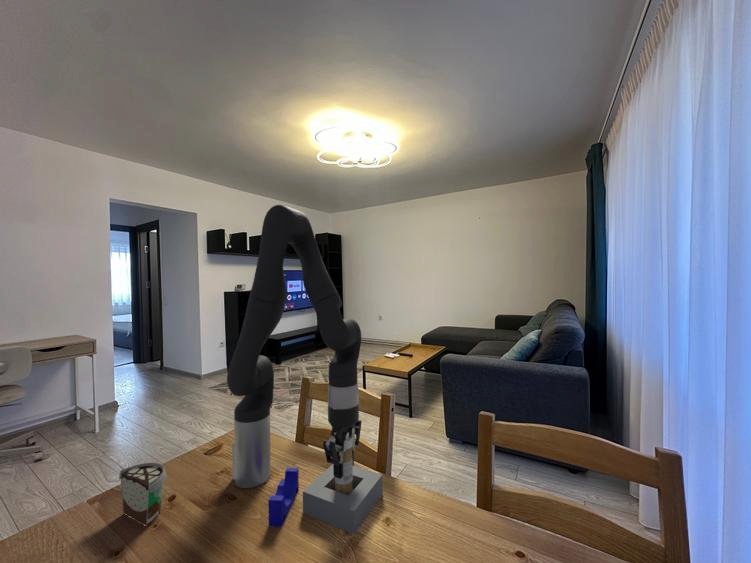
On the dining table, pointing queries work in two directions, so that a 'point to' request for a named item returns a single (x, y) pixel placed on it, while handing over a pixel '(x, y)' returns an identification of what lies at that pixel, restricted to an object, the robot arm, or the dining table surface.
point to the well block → (343, 499)
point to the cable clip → (283, 497)
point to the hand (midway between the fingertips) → (344, 471)
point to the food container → (142, 491)
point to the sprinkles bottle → (346, 470)
